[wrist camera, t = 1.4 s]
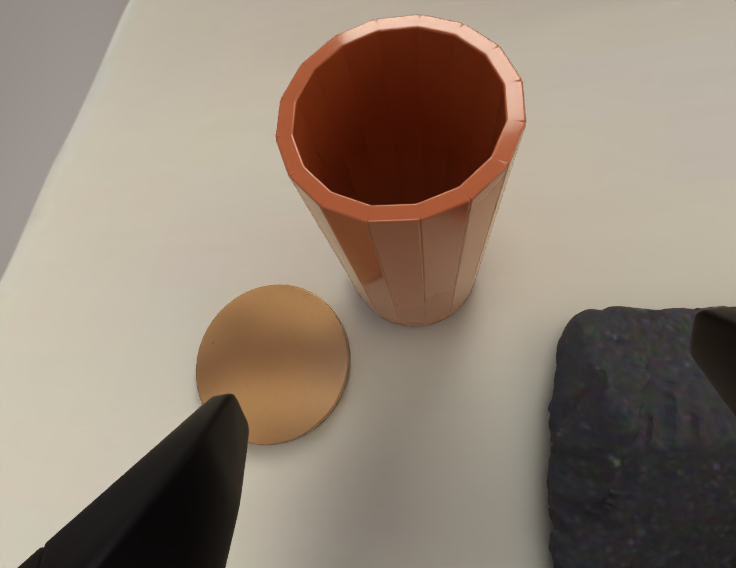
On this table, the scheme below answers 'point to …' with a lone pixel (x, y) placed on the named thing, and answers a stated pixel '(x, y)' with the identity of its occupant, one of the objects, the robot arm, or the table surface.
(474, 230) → the pot
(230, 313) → the coaster
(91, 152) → the table surface
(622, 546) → the dark slate chunk
